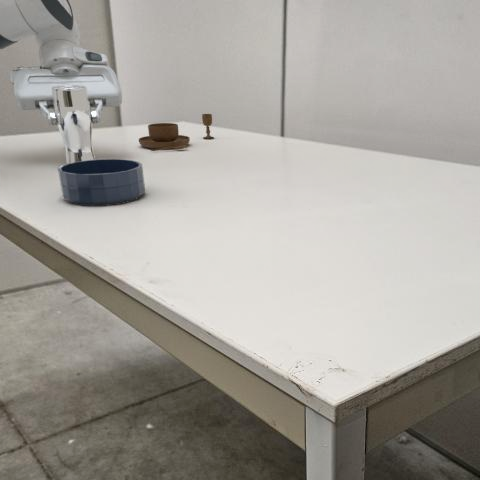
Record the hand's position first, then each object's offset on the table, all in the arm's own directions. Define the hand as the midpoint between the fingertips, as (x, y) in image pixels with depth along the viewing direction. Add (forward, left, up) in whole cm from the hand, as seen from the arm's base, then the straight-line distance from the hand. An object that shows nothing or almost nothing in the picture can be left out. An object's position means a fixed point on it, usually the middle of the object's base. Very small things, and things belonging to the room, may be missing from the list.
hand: (75, 122), depth 123 cm
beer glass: (0, +1, -9) cm, 9 cm away
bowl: (+8, -28, -8) cm, 31 cm away
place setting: (+20, +23, -9) cm, 31 cm away
